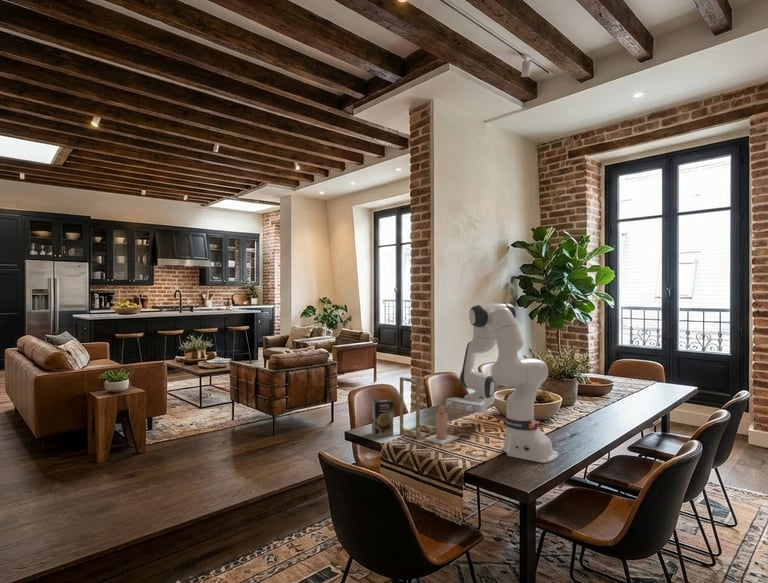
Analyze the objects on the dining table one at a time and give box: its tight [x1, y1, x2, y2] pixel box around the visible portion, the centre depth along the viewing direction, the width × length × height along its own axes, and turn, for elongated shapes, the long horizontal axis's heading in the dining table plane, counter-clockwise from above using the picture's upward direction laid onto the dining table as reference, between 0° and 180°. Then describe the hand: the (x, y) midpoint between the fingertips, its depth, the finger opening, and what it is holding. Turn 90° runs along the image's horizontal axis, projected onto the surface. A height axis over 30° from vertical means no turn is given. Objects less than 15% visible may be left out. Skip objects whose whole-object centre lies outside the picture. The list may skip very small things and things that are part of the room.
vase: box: [435, 405, 448, 439], centre depth 212 cm, size 5×5×14 cm
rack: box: [399, 376, 436, 440], centre depth 221 cm, size 11×14×27 cm
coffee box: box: [371, 398, 394, 438], centre depth 220 cm, size 9×6×16 cm
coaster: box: [424, 433, 459, 446], centre depth 212 cm, size 10×12×1 cm
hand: (456, 407), depth 221 cm, fingers open, 8 cm apart
